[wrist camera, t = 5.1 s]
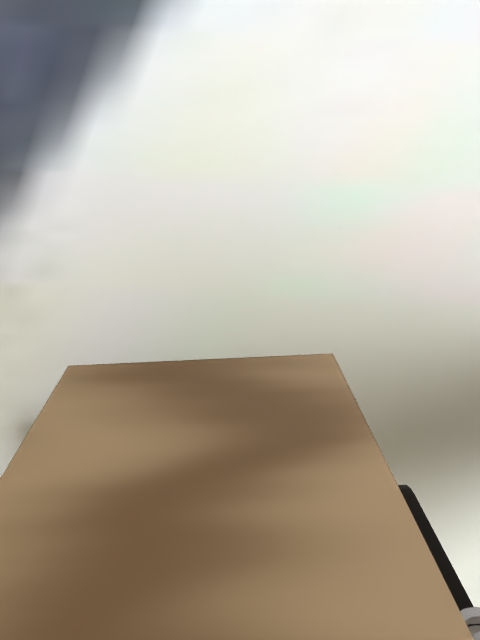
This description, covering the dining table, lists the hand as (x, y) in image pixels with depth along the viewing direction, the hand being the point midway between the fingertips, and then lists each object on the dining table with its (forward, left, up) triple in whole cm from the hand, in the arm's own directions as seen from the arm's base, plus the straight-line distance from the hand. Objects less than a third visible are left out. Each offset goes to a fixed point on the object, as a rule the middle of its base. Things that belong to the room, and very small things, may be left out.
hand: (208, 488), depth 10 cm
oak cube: (0, 0, -1) cm, 1 cm away
